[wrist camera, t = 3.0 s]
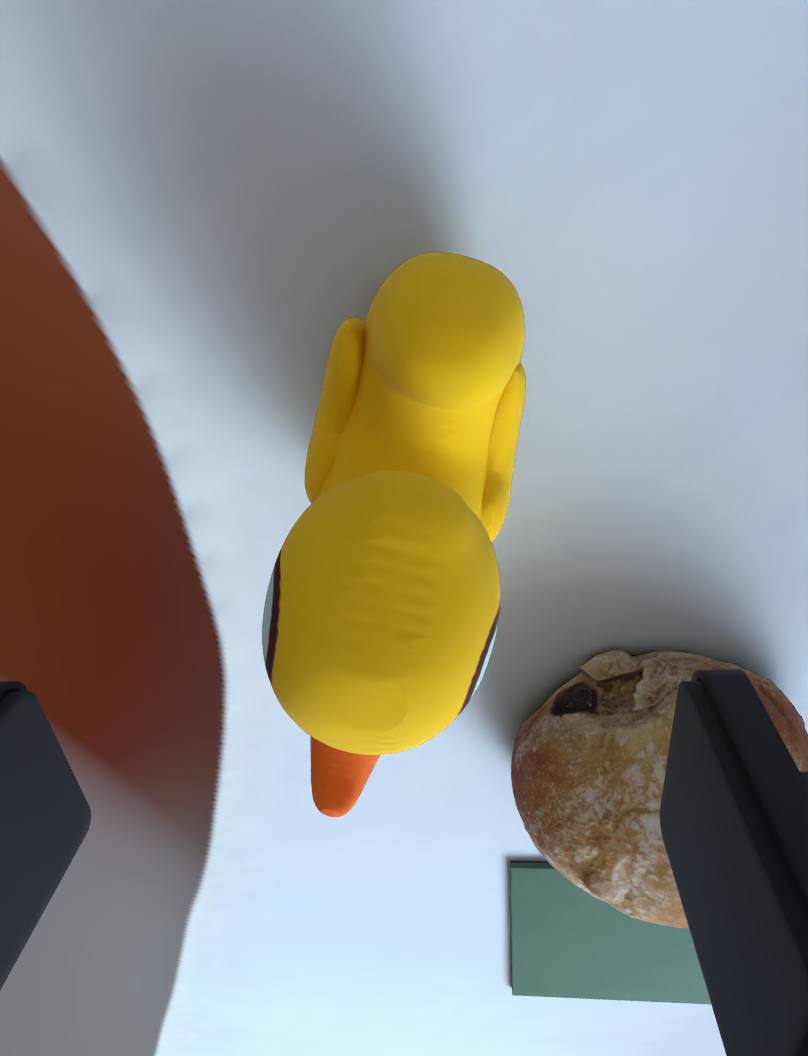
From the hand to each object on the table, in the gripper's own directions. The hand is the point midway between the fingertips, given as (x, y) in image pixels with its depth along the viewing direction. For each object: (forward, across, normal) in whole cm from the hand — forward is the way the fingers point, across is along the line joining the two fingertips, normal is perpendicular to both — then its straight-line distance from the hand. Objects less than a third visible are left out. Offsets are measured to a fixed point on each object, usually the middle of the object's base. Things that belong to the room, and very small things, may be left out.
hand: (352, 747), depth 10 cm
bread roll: (+12, -8, +12) cm, 19 cm away
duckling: (+12, 0, 0) cm, 12 cm away
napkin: (+12, -9, +26) cm, 30 cm away
